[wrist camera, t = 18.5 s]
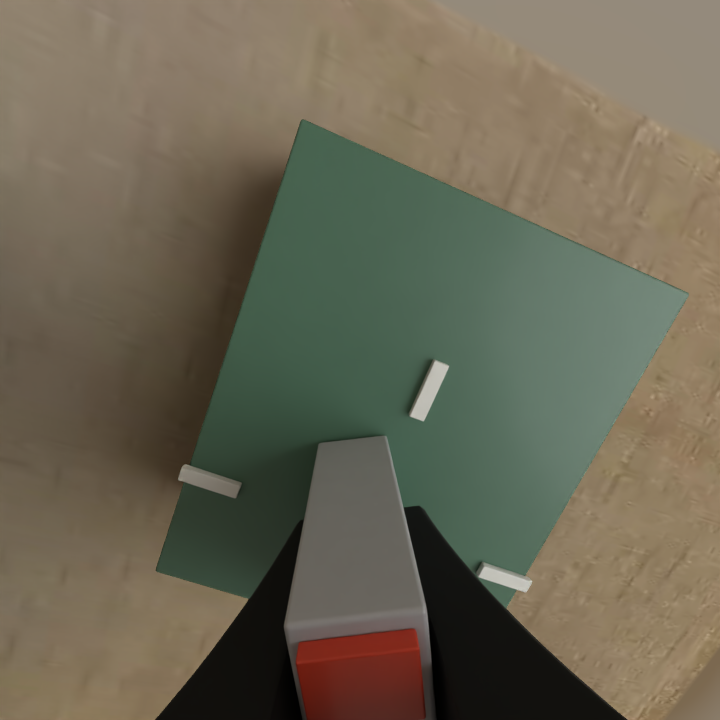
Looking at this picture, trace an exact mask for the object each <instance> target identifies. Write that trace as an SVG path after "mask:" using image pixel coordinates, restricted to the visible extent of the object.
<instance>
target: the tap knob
mask: <svg viewBox="0 0 720 720" xmlns="http://www.w3.org/2000/svg"><path fill="white" fill-rule="evenodd" d="M284 631H285V636H286V641H287V646H288V651H289V656H290V661H291V666H292V671H293V675H294V680H295V685H296V690H297V695H298V700H299V705H300V710H301V715H302V720H437V717H436V705H435V694H434V683H433V671H432V660H431V648H430V637H429V625H428V614H427V607H426V603H425V598H424V594H423V590H422V586H421V581H420V577H419V573H418V568H417V564H416V560H415V556H414V551H413V547H412V543H411V538H410V534H409V530H408V526H407V521H406V517H405V513H404V508H403V504H402V500H401V496H400V491H399V487H398V483H397V478H396V474H395V470H394V466H393V461H392V457H391V453H390V448H389V444H388V440H387V437H386V436H375V437H367V438H358V439H350V440H341V441H333V442H324V443H320V444H319V445H318V449H317V455H316V460H315V465H314V470H313V476H312V481H311V486H310V491H309V497H308V502H307V507H306V512H305V518H304V523H303V528H302V533H301V538H300V544H299V549H298V554H297V559H296V565H295V570H294V575H293V580H292V586H291V591H290V596H289V601H288V607H287V612H286V617H285V622H284Z"/></svg>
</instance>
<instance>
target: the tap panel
mask: <svg viewBox="0 0 720 720" xmlns="http://www.w3.org/2000/svg"><path fill="white" fill-rule="evenodd" d="M688 296H689V294H688V293H687V292H685V291H683V290H681V289H678V288H676V287H674V286H672V285H669V284H667V283H665V282H663V281H661V280H658V279H656V278H654V277H652V276H650V275H647V274H645V273H643V272H641V271H638V270H636V269H634V268H632V267H630V266H627V265H625V264H623V263H621V262H619V261H616V260H614V259H612V258H610V257H607V256H605V255H603V254H601V253H599V252H596V251H594V250H592V249H590V248H588V247H585V246H583V245H581V244H579V243H576V242H574V241H572V240H570V239H568V238H565V237H563V236H561V235H559V234H556V233H554V232H552V231H550V230H548V229H545V228H543V227H541V226H539V225H537V224H534V223H532V222H530V221H528V220H525V219H523V218H521V217H519V216H517V215H514V214H512V213H510V212H508V211H506V210H503V209H501V208H499V207H497V206H494V205H492V204H490V203H488V202H486V201H483V200H481V199H479V198H477V197H475V196H472V195H470V194H468V193H466V192H463V191H461V190H459V189H457V188H455V187H452V186H450V185H448V184H446V183H443V182H441V181H439V180H437V179H435V178H432V177H430V176H428V175H426V174H424V173H421V172H419V171H417V170H415V169H412V168H410V167H408V166H406V165H404V164H401V163H399V162H397V161H395V160H393V159H390V158H388V157H386V156H384V155H381V154H379V153H377V152H375V151H373V150H370V149H368V148H366V147H364V146H362V145H359V144H357V143H355V142H353V141H350V140H348V139H346V138H344V137H342V136H339V135H337V134H335V133H333V132H330V131H328V130H326V129H324V128H322V127H319V126H317V125H315V124H313V123H311V122H308V121H306V120H301V122H300V125H299V128H298V131H297V134H296V137H295V140H294V143H293V146H292V149H291V153H290V156H289V159H288V162H287V165H286V168H285V171H284V174H283V177H282V180H281V183H280V187H279V190H278V193H277V196H276V199H275V202H274V205H273V208H272V211H271V214H270V218H269V221H268V224H267V227H266V230H265V233H264V236H263V239H262V242H261V245H260V248H259V252H258V255H257V258H256V261H255V264H254V267H253V270H252V273H251V276H250V279H249V282H248V286H247V289H246V292H245V295H244V298H243V301H242V304H241V307H240V310H239V313H238V316H237V320H236V323H235V326H234V329H233V332H232V335H231V338H230V341H229V344H228V347H227V351H226V354H225V357H224V360H223V363H222V366H221V369H220V372H219V375H218V378H217V381H216V385H215V388H214V391H213V394H212V397H211V400H210V403H209V406H208V409H207V412H206V415H205V419H204V422H203V425H202V428H201V431H200V434H199V437H198V440H197V443H196V446H195V449H194V453H193V456H192V459H191V462H190V465H187V464H184V465H183V466H182V468H181V471H180V474H179V477H178V480H180V481H183V482H184V484H183V487H182V490H181V493H180V496H179V499H178V502H177V505H176V508H175V511H174V514H173V518H172V521H171V524H170V527H169V530H168V533H167V536H166V539H165V542H164V545H163V548H162V552H161V555H160V558H159V561H158V564H157V567H156V571H157V572H159V573H163V574H166V575H170V576H173V577H176V578H180V579H183V580H187V581H190V582H194V583H197V584H200V585H204V586H207V587H211V588H214V589H217V590H221V591H224V592H228V593H231V594H234V595H238V596H241V597H245V598H248V599H250V597H251V596H252V594H253V593H254V591H255V590H256V588H257V587H258V585H259V584H260V582H261V581H262V579H263V578H264V576H265V575H266V573H267V572H268V570H269V569H270V567H271V565H272V564H273V562H274V561H275V559H276V558H277V556H278V554H279V553H280V551H281V549H282V548H283V546H284V545H285V543H286V541H287V540H288V538H289V536H290V535H291V533H292V531H293V529H294V528H295V526H296V525H297V523H298V522H299V521H300V520H303V519H304V518H305V512H306V507H307V502H308V497H309V491H310V486H311V481H312V476H313V470H314V465H315V460H316V455H317V449H318V445H319V444H320V443H324V442H333V441H341V440H350V439H358V438H367V437H375V436H386V437H387V440H388V444H389V448H390V453H391V457H392V461H393V466H394V470H395V474H396V478H397V483H398V487H399V491H400V496H401V500H402V504H403V507H411V506H421V507H422V508H423V509H425V511H426V513H427V514H428V516H429V517H430V519H431V520H432V522H433V523H434V525H435V526H436V527H437V529H438V530H439V531H440V533H441V534H442V535H443V537H444V538H445V539H446V541H447V542H448V543H449V545H450V546H451V547H452V548H453V550H454V551H455V552H456V553H457V554H458V556H459V557H460V558H461V559H462V560H463V562H464V563H465V564H466V565H467V566H468V567H469V569H470V570H471V571H472V572H473V573H474V574H475V576H476V577H477V578H478V579H479V580H480V581H481V582H482V584H483V585H484V586H485V587H486V588H487V589H488V590H489V591H490V592H491V593H492V594H493V596H494V597H495V598H496V599H497V600H498V601H499V602H500V603H501V604H502V605H503V606H504V607H505V608H507V606H508V604H509V602H510V601H511V599H512V597H513V596H514V594H515V592H516V590H519V591H523V592H527V590H528V588H529V587H530V585H531V583H532V581H531V579H530V578H529V577H527V576H525V575H526V573H527V572H528V570H529V568H530V566H531V565H532V563H533V561H534V560H535V558H536V556H537V554H538V553H539V551H540V549H541V548H542V546H543V544H544V542H545V541H546V539H547V537H548V536H549V534H550V532H551V530H552V529H553V527H554V525H555V524H556V522H557V520H558V519H559V517H560V515H561V513H562V512H563V510H564V508H565V507H566V505H567V503H568V501H569V500H570V498H571V496H572V495H573V493H574V491H575V489H576V488H577V486H578V484H579V483H580V481H581V479H582V477H583V476H584V474H585V472H586V471H587V469H588V467H589V465H590V464H591V462H592V460H593V459H594V457H595V455H596V453H597V452H598V450H599V448H600V447H601V445H602V443H603V441H604V440H605V438H606V436H607V435H608V433H609V431H610V429H611V428H612V426H613V424H614V423H615V421H616V419H617V417H618V416H619V414H620V412H621V411H622V409H623V407H624V405H625V404H626V402H627V400H628V399H629V397H630V395H631V393H632V392H633V390H634V388H635V387H636V385H637V383H638V381H639V380H640V378H641V376H642V375H643V373H644V371H645V369H646V368H647V366H648V364H649V363H650V361H651V359H652V357H653V356H654V354H655V352H656V351H657V349H658V347H659V345H660V344H661V342H662V340H663V339H664V337H665V335H666V333H667V332H668V330H669V328H670V327H671V325H672V323H673V321H674V320H675V318H676V316H677V315H678V313H679V311H680V309H681V308H682V306H683V304H684V303H685V301H686V299H687V297H688Z"/></svg>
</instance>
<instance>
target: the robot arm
mask: <svg viewBox="0 0 720 720" xmlns="http://www.w3.org/2000/svg"><path fill="white" fill-rule="evenodd" d="M403 508H404V513H405V517H406V521H407V526H408V530H409V534H410V538H411V543H412V547H413V551H414V556H415V560H416V564H417V568H418V573H419V577H420V581H421V586H422V590H423V594H424V598H425V603H426V607H427V614H428V625H429V637H430V648H431V660H432V671H433V683H434V694H435V705H436V717H437V720H627V719H626V718H625V717H623V716H622V715H621V714H620V713H618V712H617V711H616V710H615V709H614V708H613V707H611V706H610V705H609V704H608V703H607V702H606V701H604V700H603V699H602V698H601V697H600V696H599V695H598V694H596V693H595V692H594V691H593V690H592V689H591V688H590V687H588V686H587V685H586V684H585V683H584V682H583V681H582V680H580V679H579V678H578V677H577V676H576V675H575V674H574V673H572V672H571V671H570V670H569V669H568V668H567V667H566V666H565V665H564V664H563V663H562V662H560V661H559V660H558V659H557V658H556V657H555V656H554V655H553V654H552V653H551V652H550V651H549V650H547V649H546V648H545V647H544V646H543V645H542V644H541V643H540V642H539V641H538V640H537V639H536V638H535V637H534V636H533V635H532V634H531V633H530V632H529V631H528V630H527V629H526V628H525V627H524V626H523V625H522V624H521V623H520V622H519V621H518V620H517V619H516V618H515V617H514V616H513V615H512V614H511V613H510V612H509V611H508V610H507V609H506V608H505V607H504V606H503V605H502V604H501V603H500V602H499V601H498V600H497V599H496V598H495V597H494V596H493V594H492V593H491V592H490V591H489V590H488V589H487V588H486V587H485V586H484V585H483V584H482V582H481V581H480V580H479V579H478V578H477V577H476V576H475V574H474V573H473V572H472V571H471V570H470V569H469V567H468V566H467V565H466V564H465V563H464V562H463V560H462V559H461V558H460V557H459V556H458V554H457V553H456V552H455V551H454V550H453V548H452V547H451V546H450V545H449V543H448V542H447V541H446V539H445V538H444V537H443V535H442V534H441V533H440V531H439V530H438V529H437V527H436V526H435V525H434V523H433V522H432V520H431V519H430V517H429V516H428V514H427V513H426V511H425V509H423V508H422V507H421V506H411V507H403ZM303 523H304V519H303V520H300V521H299V522H298V523H297V525H296V526H295V528H294V529H293V531H292V533H291V535H290V536H289V538H288V540H287V541H286V543H285V545H284V546H283V548H282V549H281V551H280V553H279V554H278V556H277V558H276V559H275V561H274V562H273V564H272V565H271V567H270V569H269V570H268V572H267V573H266V575H265V576H264V578H263V579H262V581H261V582H260V584H259V585H258V587H257V588H256V590H255V591H254V593H253V594H252V596H251V597H250V599H249V600H248V602H247V603H246V604H245V606H244V607H243V609H242V610H241V612H240V613H239V614H238V616H237V617H236V618H235V620H234V621H233V622H232V624H231V625H230V627H229V628H228V629H227V631H226V632H225V633H224V635H223V636H222V637H221V639H220V640H219V642H218V643H217V644H216V646H215V647H214V648H213V650H212V651H211V652H210V654H209V655H208V656H207V657H206V659H205V660H204V661H203V662H202V664H201V665H200V666H199V668H198V669H197V670H196V671H195V673H194V674H193V675H192V676H191V678H190V679H189V680H188V681H187V683H186V684H185V685H184V686H183V687H182V689H181V690H180V691H179V692H178V693H177V695H176V696H175V697H174V698H173V699H172V701H171V702H170V703H169V704H168V705H167V707H166V708H165V709H164V710H163V711H162V713H161V714H160V715H159V716H158V717H157V718H156V719H155V720H302V715H301V710H300V705H299V700H298V695H297V690H296V685H295V680H294V675H293V671H292V666H291V661H290V656H289V651H288V646H287V641H286V636H285V631H284V622H285V617H286V612H287V607H288V601H289V596H290V591H291V586H292V580H293V575H294V570H295V565H296V559H297V554H298V549H299V544H300V538H301V533H302V528H303Z"/></svg>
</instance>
